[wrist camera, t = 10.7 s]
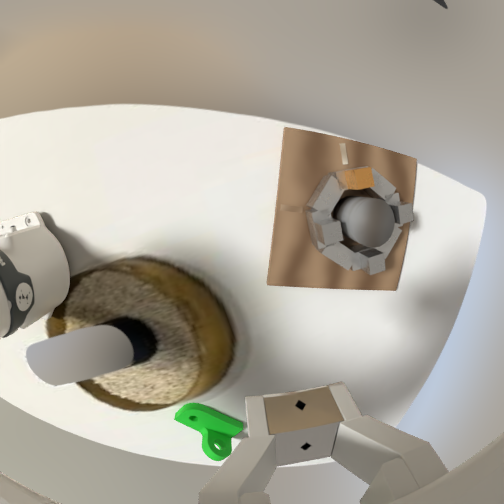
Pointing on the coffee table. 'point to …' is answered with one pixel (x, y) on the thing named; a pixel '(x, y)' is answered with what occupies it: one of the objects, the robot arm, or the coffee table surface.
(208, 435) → the mechanical part
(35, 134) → the coffee table surface
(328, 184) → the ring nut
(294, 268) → the base plate
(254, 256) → the coffee table surface
